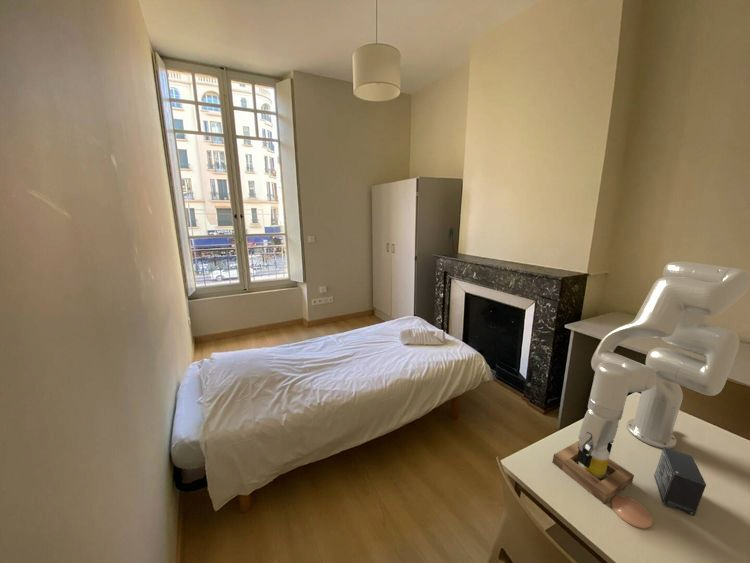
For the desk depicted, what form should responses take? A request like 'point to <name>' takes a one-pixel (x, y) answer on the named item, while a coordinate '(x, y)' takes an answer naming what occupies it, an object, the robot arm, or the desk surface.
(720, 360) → the robot arm
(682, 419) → the desk surface
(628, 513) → the coaster
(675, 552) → the desk surface
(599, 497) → the pocket holder
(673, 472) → the small box
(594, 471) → the pill bottle
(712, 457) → the desk surface
